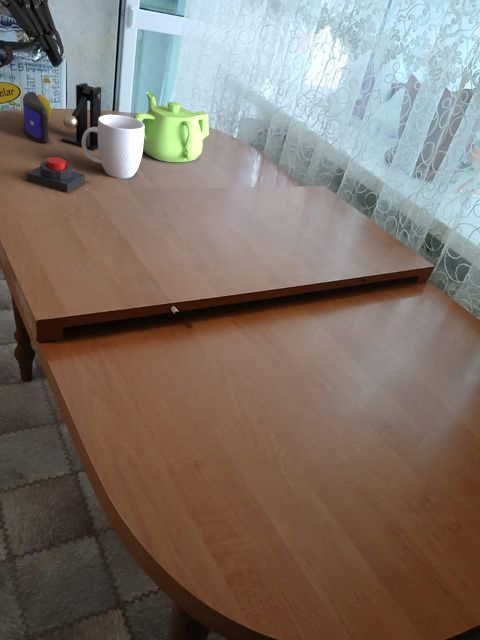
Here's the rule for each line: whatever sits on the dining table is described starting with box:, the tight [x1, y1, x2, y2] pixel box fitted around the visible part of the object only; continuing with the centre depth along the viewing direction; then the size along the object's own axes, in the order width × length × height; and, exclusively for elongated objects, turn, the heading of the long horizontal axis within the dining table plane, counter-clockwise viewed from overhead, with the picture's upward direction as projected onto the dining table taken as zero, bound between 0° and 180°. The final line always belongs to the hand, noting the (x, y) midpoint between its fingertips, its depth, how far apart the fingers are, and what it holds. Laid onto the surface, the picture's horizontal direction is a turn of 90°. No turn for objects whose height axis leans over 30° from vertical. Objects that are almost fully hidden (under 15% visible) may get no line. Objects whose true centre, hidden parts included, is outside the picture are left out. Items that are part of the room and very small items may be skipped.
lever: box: [63, 85, 95, 130], centre depth 144 cm, size 14×3×3 cm, turn 166°
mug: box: [81, 114, 144, 179], centre depth 136 cm, size 15×11×13 cm
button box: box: [26, 160, 86, 193], centre depth 127 cm, size 10×8×4 cm
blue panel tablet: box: [22, 91, 49, 144], centre depth 147 cm, size 16×5×9 cm, turn 28°
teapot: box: [133, 91, 210, 163], centre depth 154 cm, size 19×20×14 cm
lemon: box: [37, 93, 52, 121], centre depth 156 cm, size 6×6×8 cm
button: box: [46, 157, 66, 170], centre depth 126 cm, size 4×4×2 cm
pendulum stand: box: [62, 82, 102, 151], centre depth 149 cm, size 12×9×15 cm
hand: (58, 63), depth 135 cm, fingers closed
